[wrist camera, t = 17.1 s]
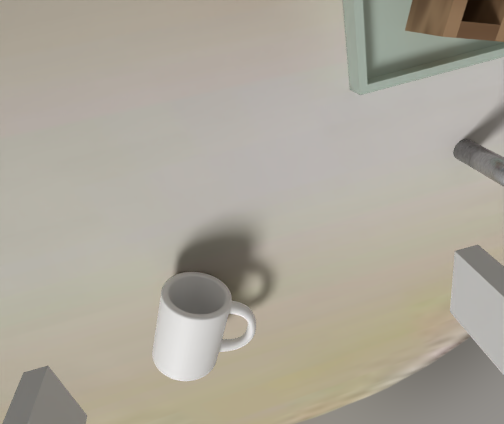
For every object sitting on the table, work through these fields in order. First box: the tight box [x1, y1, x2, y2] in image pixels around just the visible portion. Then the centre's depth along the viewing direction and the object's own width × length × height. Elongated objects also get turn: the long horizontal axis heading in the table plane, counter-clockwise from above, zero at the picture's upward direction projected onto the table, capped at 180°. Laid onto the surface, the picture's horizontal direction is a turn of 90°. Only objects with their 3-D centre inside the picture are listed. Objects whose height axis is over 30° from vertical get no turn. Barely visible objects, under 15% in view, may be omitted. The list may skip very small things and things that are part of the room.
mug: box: [152, 272, 256, 381], centre depth 46 cm, size 12×10×8 cm
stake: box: [453, 139, 504, 186], centre depth 39 cm, size 5×2×11 cm, turn 12°
